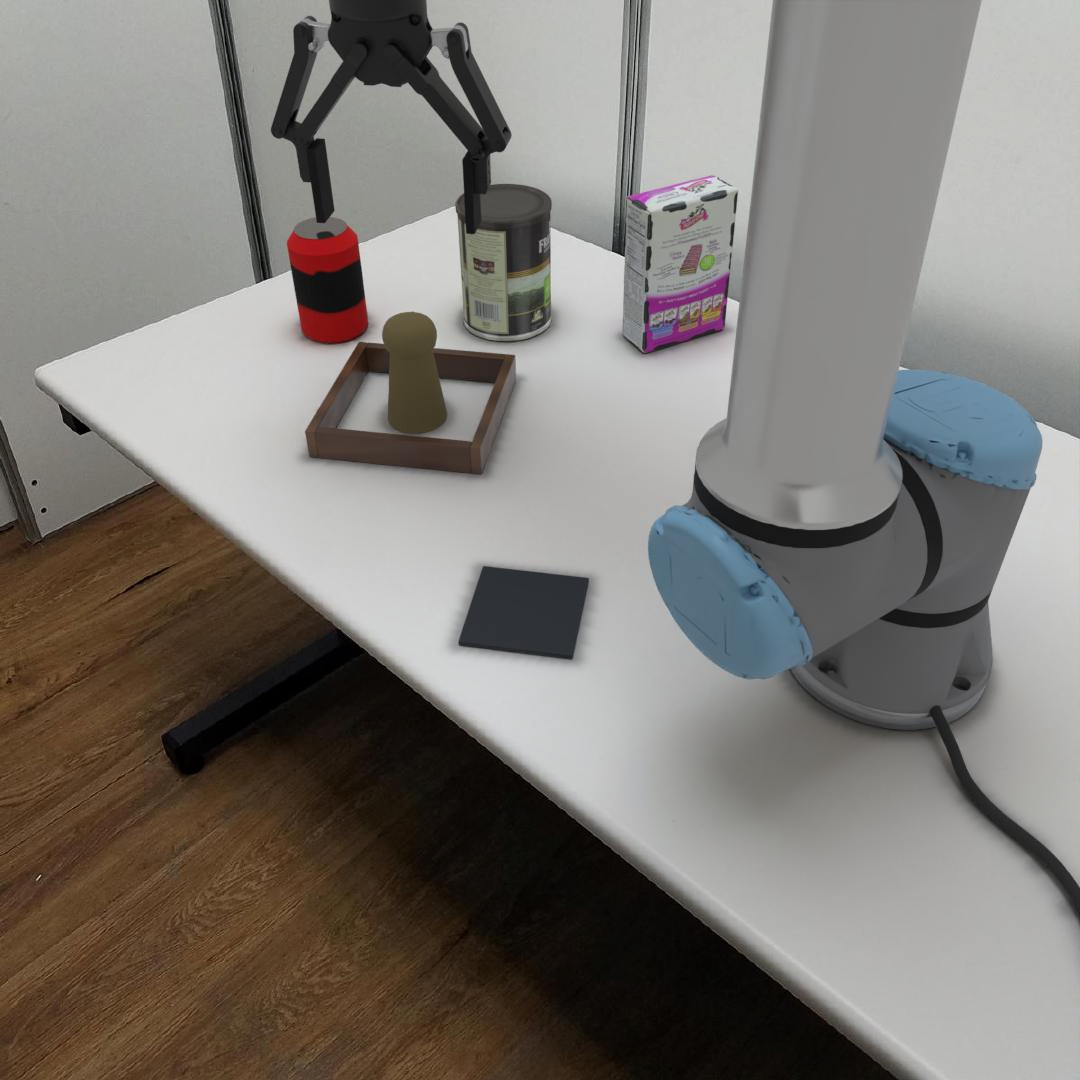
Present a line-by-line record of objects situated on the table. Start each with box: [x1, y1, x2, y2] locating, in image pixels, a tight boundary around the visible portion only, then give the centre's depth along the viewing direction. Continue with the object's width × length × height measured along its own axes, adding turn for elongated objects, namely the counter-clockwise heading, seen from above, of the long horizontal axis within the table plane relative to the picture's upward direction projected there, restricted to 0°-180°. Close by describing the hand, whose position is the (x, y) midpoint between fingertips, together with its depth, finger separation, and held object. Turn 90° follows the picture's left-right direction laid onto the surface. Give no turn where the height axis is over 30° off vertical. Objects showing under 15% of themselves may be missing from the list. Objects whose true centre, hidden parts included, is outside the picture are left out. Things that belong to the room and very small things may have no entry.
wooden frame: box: [304, 341, 517, 475], centre depth 107 cm, size 17×17×3 cm
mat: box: [458, 565, 589, 660], centre depth 86 cm, size 9×9×1 cm
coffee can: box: [454, 183, 553, 342], centre depth 118 cm, size 10×10×14 cm
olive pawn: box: [381, 311, 448, 434], centre depth 104 cm, size 6×6×11 cm
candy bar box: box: [622, 174, 739, 354], centre depth 115 cm, size 11×5×16 cm, turn 119°
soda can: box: [286, 216, 369, 344], centre depth 118 cm, size 8×8×12 cm
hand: (399, 222), depth 94 cm, fingers open, 13 cm apart
